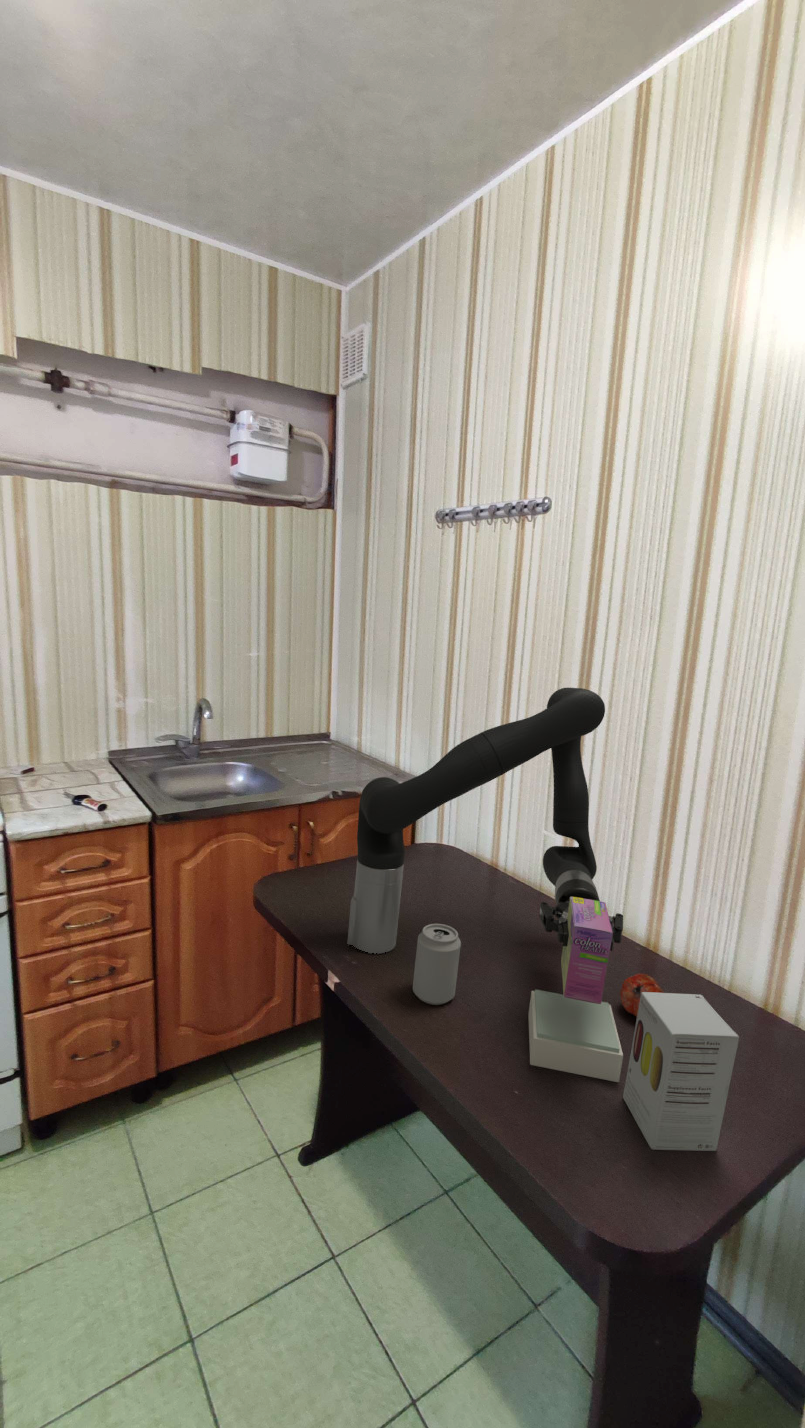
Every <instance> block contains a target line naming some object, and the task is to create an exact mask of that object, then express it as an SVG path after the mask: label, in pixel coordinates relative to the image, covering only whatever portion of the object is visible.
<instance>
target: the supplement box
mask: <svg viewBox="0 0 805 1428" xmlns="http://www.w3.org/2000/svg"><path fill="white" fill-rule="evenodd" d="M635 1021H636V1022H635V1027H634V1033H633V1037H632V1044H631V1050H630V1054H629V1060H628V1066H627V1071H626V1072H627V1073H626V1078H625V1083H624V1090H623V1095H622V1098H623V1100H624V1102H625V1104H626V1105H627V1107H628V1109H629V1111H630V1113H631V1114H632V1117H633V1118H634V1120H635V1122H636V1124H637V1126H638V1128H639V1130H640V1132H641V1133H642V1135H643V1137H644V1139H645V1140H646V1143H647V1144H648V1146H649V1148H650V1149H651V1150H656V1151H657V1150H658V1151H661V1150H662V1151H691V1152H692V1151H694V1152H695V1151H698V1152H699V1151H701V1152H702V1151H703V1152H716V1151H717V1148H718V1144H719V1139H720V1135H721V1134H720V1133H721V1128H722V1125H723V1120H724V1115H725V1109H726V1105H727V1099H728V1093H729V1090H730V1089H729V1088H730V1084H731V1081H732V1080H731V1079H732V1074H733V1070H734V1064H735V1059H736V1055H737V1049H738V1047H739V1039H740V1036H739V1035H738V1033H736V1031H734V1029H732V1028H731V1026H730V1025H729V1024H728V1023H727V1022H726V1021H725V1020H724V1019H723V1018H722V1017H721V1015H719V1013H718V1012H717V1011H716V1010H715V1009H714V1008H713V1007H712V1005H711V1004H710V1003H709V1002H708V1001H707V999H706V998H705V997H704V995H702V994H694V993H692V994H691V993H675V992H674V993H673V992H664V993H655V992H642V993H641V996H640V1002H639V1008H638V1014H637V1017H636V1020H635Z"/></svg>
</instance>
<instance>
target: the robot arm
mask: <svg viewBox="0 0 805 1428" xmlns="http://www.w3.org/2000/svg"><path fill="white" fill-rule="evenodd" d="M605 714H606V705H605V702H604V700H603V698H602V697H601V696H600V695H598V693H596V692H594V691H592V690H590V689H586V688H581V687H563V688H559V689H557V690H556V691H554V692H553V693H552V694H551V696H550V697H549V699H548V701H547V704H546V708H545V709H543V710H542V711H540V712H538V713H536V714H534V715H531V716H529V717H526V718H523V719H520V720H516V721H512V722H508V723H504V724H500V725H498V726H495V727H491V728H489V729H486V730H483V731H482V732H479V733H477V734H475V735H474V736H472V737H469V738H468V739H465V740H464V741H462V742H460V743H459V744H457V745H454V747H453V748H451V750H449V751H448V752H447V753H445V755H444V756H442V758H441V759H439V760H438V761H437V762H436V763H435V764H434V765H433V766H432V767H431V768H429V769H427V770H426V771H424V772H423V773H421V774H419V775H418V776H417V775H416V776H415V777H413V778H410V779H408V780H406V781H403V782H400V783H399V782H398V781H397V780H395V779H394V778H391V777H387V776H384V777H382V776H381V777H377V778H374V779H372V780H371V781H369V782H368V783H367V784H366V785H365V786H364V788H363V790H362V792H361V794H360V798H359V803H358V817H357V832H356V842H357V843H356V844H357V845H356V846H357V856H356V859H357V860H356V870H355V881H354V891H353V892H354V893H353V895H352V898H351V899H350V908H349V909H350V910H349V917H348V918H349V919H348V930H347V942H346V945H347V944H351V945H353V946H354V947H356V948H357V949H359V950H362V951H365V952H368V953H367V954H372V953H374V954H373V955H380V954H385V952H386V953H389V952H390V951H392V950H393V949H395V947H396V945H397V944H396V943H397V938H398V926H399V916H400V906H401V898H402V897H401V895H402V888H403V887H402V886H403V876H404V867H405V856H406V848H405V843H404V829H407V828H408V827H410V826H411V825H412V824H414V823H416V822H417V821H419V820H420V819H422V818H423V817H425V816H426V815H428V814H429V813H431V812H433V811H434V810H436V809H437V808H439V807H441V806H442V805H444V804H446V803H448V802H450V801H452V800H454V799H456V798H458V797H460V796H463V795H464V794H466V793H468V792H470V791H473V790H475V789H476V788H478V787H480V786H483V785H485V784H487V783H490V782H491V781H493V780H495V779H497V778H499V777H501V776H502V775H505V774H506V773H508V772H510V771H511V770H512V771H513V769H516V768H517V767H519V766H521V765H523V764H524V763H526V762H528V761H530V760H532V759H534V758H535V757H537V756H539V755H540V754H543V753H545V752H546V751H548V750H550V749H551V757H552V758H551V760H552V772H553V773H552V776H553V777H552V778H553V802H552V803H553V804H552V807H553V808H552V829H553V831H554V833H555V834H557V835H559V836H562V837H565V838H568V839H572V840H574V841H575V842H576V843H577V844H578V846H569V845H568V846H563V845H554V846H550V847H549V848H547V849H546V851H545V852H544V854H543V857H542V867H543V871H544V872H543V873H545V876H546V878H547V880H549V882H550V883H551V884H552V885H553V886H554V901H555V904H556V905H555V906H554V907H553V906H551V905H549V903H548V902H546V901H541V902H540V905H539V907H540V908H539V914H538V917H539V919H540V921H541V924H542V925H543V928H544V931H545V932H547V933H552V932H555V934H556V936H557V942H558V943H561V945H562V947H563V946H567V945H568V938H569V932H568V926H567V924H566V923H567V916H568V908H569V901H570V897H578V898H584V899H590V900H596V901H601V900H600V897H599V894H598V889H597V887H596V884H595V883H594V881H593V879H594V878H595V876H596V874H597V869H598V867H597V861H596V857H595V854H594V849H593V846H592V842H591V837H590V832H589V831H590V830H589V819H590V818H589V817H590V815H589V814H590V796H589V790H588V789H589V788H588V783H587V779H586V775H585V771H584V770H585V769H584V765H583V760H582V750H581V745H582V744H581V742H582V737H583V736H585V735H588V734H590V733H592V732H594V731H595V730H596V729H597V728H598V727H599V726H600V724H602V721H603V720H604V718H605ZM608 916H609V920H610V924H611V928H612V932H613V935H612V941H611V947H610V952H611V951H614V945H615V944H621V943H622V942H621V941H622V934H623V929H624V915H623V914H621V913H618V912H617V913H616V914H615V915H613V916H610V915H608ZM555 917H556V918H557V919H556V918H555ZM353 946H352V947H353ZM354 947H353V948H354ZM356 948H355V949H356ZM357 949H356V950H357ZM359 950H358V951H359ZM362 951H361V952H362ZM365 952H364V953H365ZM376 953H377V954H376Z"/></svg>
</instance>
